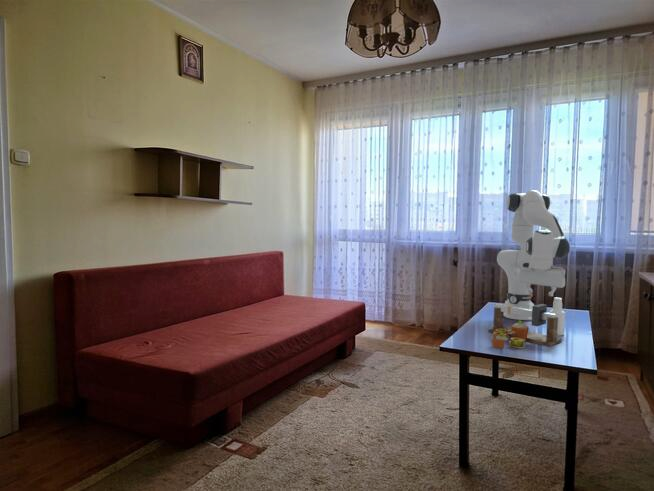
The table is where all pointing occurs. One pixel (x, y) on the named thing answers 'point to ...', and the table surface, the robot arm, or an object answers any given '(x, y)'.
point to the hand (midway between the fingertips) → (540, 294)
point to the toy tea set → (517, 333)
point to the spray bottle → (559, 314)
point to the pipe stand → (537, 338)
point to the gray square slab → (538, 314)
